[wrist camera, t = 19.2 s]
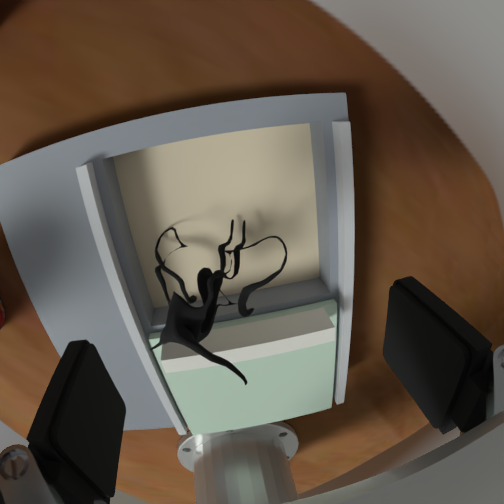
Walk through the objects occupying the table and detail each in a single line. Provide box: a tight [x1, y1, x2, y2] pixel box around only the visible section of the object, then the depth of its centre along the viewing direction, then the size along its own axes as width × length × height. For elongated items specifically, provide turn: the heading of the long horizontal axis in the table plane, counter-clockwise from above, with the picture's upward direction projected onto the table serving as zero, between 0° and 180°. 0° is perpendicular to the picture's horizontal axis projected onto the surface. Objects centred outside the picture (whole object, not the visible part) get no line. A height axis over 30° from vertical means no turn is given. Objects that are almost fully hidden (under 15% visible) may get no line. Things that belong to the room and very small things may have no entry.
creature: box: [150, 219, 287, 385], centre depth 16 cm, size 8×5×8 cm
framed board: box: [0, 93, 355, 435], centre depth 19 cm, size 22×20×3 cm
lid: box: [149, 299, 337, 435], centre depth 20 cm, size 11×11×3 cm
